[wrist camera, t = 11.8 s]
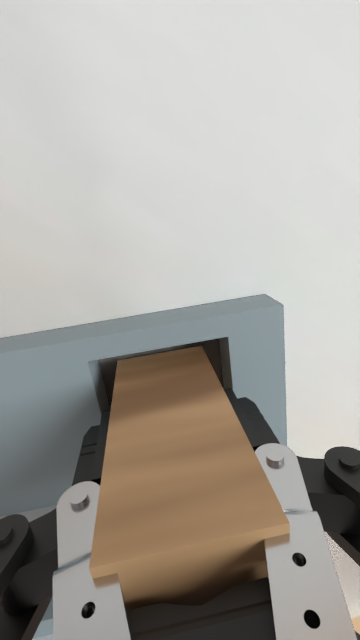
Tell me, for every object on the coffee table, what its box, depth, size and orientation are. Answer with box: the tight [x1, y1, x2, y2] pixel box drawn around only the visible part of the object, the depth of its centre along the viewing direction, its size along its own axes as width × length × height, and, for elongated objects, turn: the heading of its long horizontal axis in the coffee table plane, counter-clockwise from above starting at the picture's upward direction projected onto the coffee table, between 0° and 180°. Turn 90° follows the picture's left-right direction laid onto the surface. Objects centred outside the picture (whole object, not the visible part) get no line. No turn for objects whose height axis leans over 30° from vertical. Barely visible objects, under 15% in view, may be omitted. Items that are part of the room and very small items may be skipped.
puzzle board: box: [0, 294, 287, 640], centre depth 16 cm, size 20×17×3 cm
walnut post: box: [89, 346, 290, 611], centre depth 11 cm, size 4×4×9 cm
